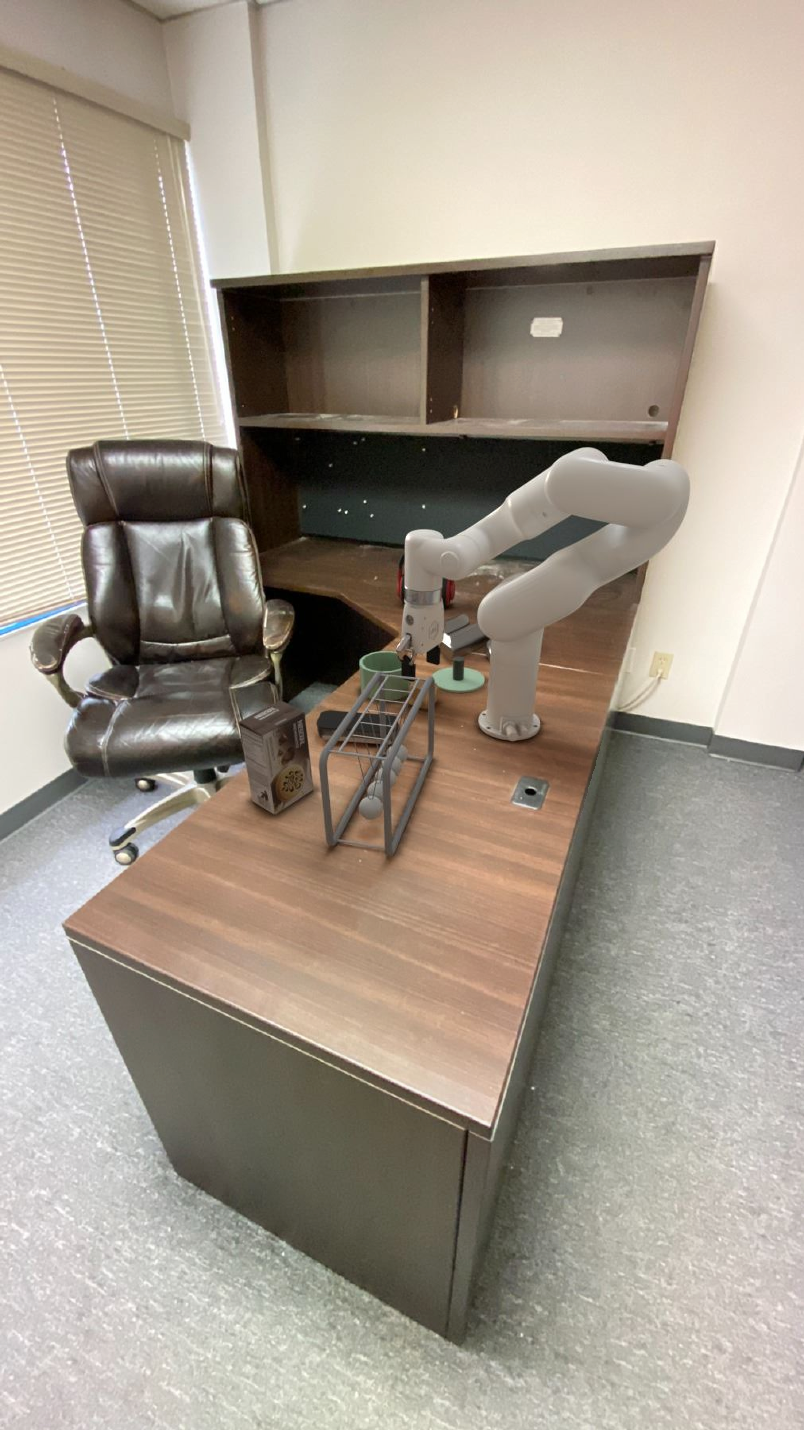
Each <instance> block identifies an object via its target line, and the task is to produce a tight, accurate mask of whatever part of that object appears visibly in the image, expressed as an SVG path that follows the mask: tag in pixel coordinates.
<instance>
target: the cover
mask: <svg viewBox="0 0 804 1430" xmlns="http://www.w3.org/2000/svg"><path fill="white" fill-rule="evenodd" d="M431 676H432V677H433V678H434V680H435V683H437V689H438V690H441V691H444V692H448V693H453V694H454V693H455V694H464V693H471V692H475V691H477V690H480V689H481V688H482V687H484V685H485V679H486V678H485V676H484V675H483V674H482V672H480V671H478V670H476V669H473V668H469V667H465V657H464V656H463V657H454V658H453V661H452V666H449V667H444V668H441V669H438V670H437V671H435V672H434V673H433V674H432V675H431Z"/></svg>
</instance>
